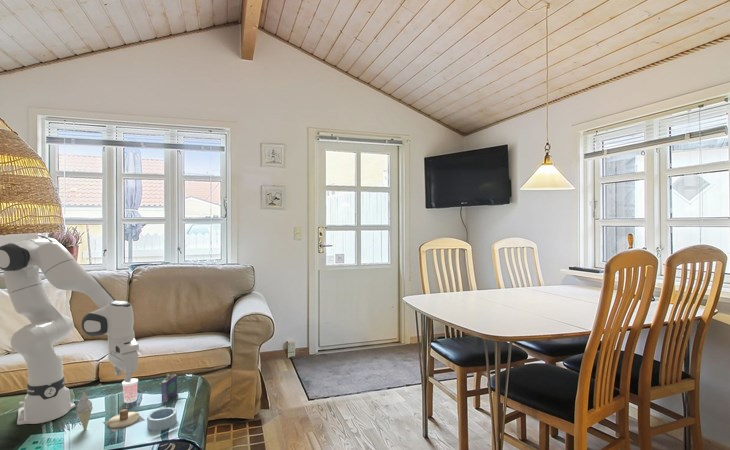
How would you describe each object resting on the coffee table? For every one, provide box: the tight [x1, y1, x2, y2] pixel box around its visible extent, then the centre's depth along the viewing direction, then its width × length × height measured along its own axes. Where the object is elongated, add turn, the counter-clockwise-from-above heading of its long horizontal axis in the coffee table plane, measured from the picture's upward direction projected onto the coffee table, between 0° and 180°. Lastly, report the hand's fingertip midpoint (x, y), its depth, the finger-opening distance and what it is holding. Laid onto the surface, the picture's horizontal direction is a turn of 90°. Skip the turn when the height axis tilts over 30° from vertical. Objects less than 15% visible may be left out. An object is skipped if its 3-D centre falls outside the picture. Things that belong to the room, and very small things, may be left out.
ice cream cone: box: [75, 391, 94, 431], centre depth 151 cm, size 5×5×15 cm
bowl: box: [146, 407, 178, 432], centre depth 154 cm, size 10×10×4 cm
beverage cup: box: [121, 377, 139, 404], centre depth 174 cm, size 6×6×14 cm
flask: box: [160, 373, 178, 403], centre depth 176 cm, size 9×3×11 cm, turn 172°
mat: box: [103, 410, 145, 433], centre depth 156 cm, size 11×11×1 cm
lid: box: [107, 408, 140, 428], centre depth 156 cm, size 10×10×4 cm
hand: (122, 378), depth 156 cm, fingers open, 8 cm apart
